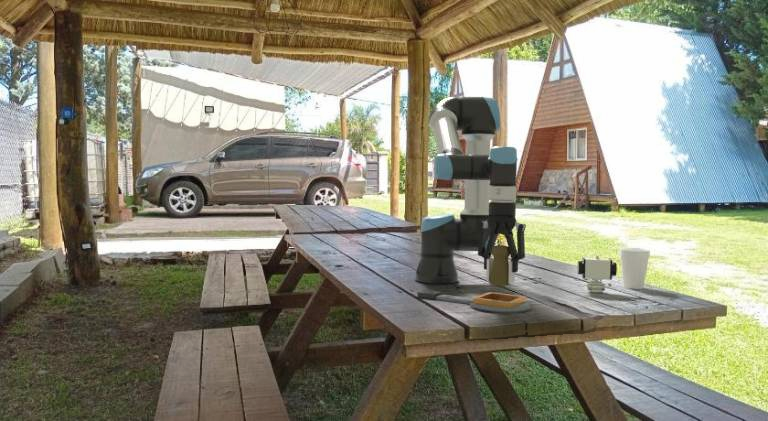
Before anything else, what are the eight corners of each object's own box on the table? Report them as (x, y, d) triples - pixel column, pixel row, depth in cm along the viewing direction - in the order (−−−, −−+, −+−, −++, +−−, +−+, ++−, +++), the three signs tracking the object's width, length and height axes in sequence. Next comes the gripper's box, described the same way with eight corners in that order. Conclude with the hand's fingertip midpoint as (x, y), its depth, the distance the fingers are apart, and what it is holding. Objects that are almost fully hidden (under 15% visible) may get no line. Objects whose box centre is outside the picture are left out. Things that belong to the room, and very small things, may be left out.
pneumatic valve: (616, 294, 201) (617, 257, 200) (577, 292, 203) (579, 255, 203) (613, 291, 206) (614, 255, 206) (576, 289, 209) (577, 253, 208)
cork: (512, 282, 181) (513, 244, 180) (509, 286, 175) (510, 247, 175) (491, 281, 183) (492, 243, 182) (487, 284, 177) (488, 246, 177)
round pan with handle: (538, 305, 182) (539, 296, 182) (516, 316, 168) (516, 306, 168) (434, 292, 201) (434, 283, 201) (406, 300, 187) (406, 291, 187)
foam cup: (634, 290, 208) (635, 251, 208) (612, 285, 217) (613, 248, 216) (654, 288, 213) (655, 250, 212) (632, 284, 221) (633, 247, 220)
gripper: (466, 200, 180) (464, 280, 181) (529, 203, 170) (527, 288, 171) (477, 200, 186) (475, 277, 188) (539, 202, 176) (537, 284, 177)
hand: (500, 282), depth 179 cm, fingers closed on cork, 6 cm apart
